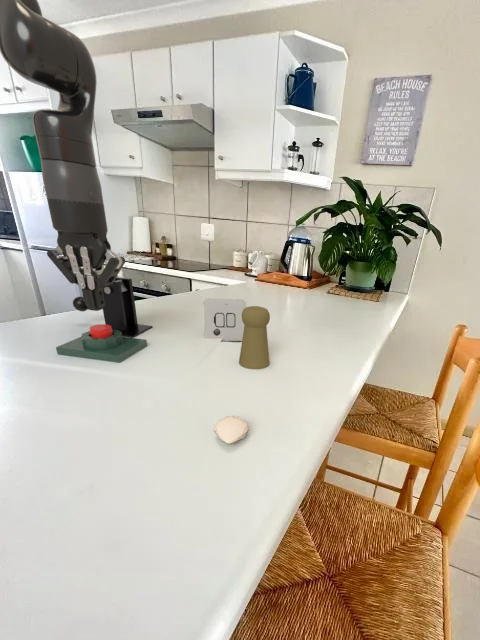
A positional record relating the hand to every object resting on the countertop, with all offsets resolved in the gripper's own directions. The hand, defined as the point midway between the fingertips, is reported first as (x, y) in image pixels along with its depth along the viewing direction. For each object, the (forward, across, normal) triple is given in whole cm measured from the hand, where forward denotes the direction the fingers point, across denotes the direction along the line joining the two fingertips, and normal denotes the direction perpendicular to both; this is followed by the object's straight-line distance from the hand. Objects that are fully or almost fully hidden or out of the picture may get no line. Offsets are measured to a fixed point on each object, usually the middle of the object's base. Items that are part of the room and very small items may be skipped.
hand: (95, 309), depth 58 cm
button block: (+9, 0, 0) cm, 9 cm away
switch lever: (+2, +8, -12) cm, 15 cm away
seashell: (+9, -31, +20) cm, 38 cm away
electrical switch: (+9, -18, -17) cm, 26 cm away
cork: (+8, -28, -5) cm, 30 cm away
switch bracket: (+9, +4, -12) cm, 15 cm away
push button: (+5, 0, 0) cm, 5 cm away
